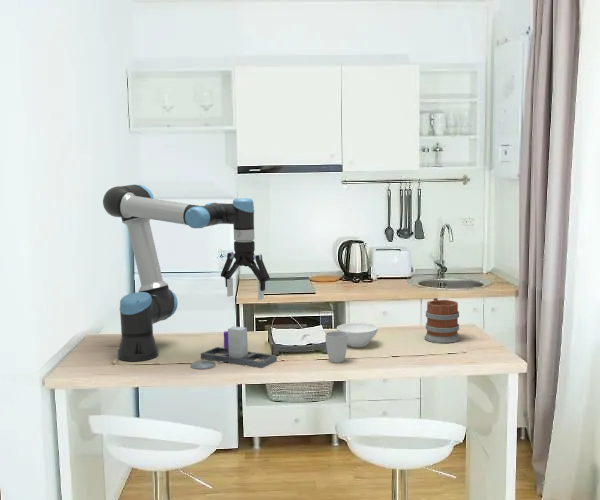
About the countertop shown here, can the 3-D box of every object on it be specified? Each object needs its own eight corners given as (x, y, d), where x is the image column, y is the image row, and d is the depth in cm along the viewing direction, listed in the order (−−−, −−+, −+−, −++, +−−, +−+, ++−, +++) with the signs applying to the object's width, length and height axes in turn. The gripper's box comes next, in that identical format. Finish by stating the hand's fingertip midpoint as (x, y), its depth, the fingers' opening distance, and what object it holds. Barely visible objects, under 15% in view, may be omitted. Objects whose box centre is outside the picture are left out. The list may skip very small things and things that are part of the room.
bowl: (379, 350, 291) (379, 332, 290) (337, 350, 291) (337, 332, 290) (376, 339, 307) (375, 322, 306) (336, 340, 307) (335, 322, 306)
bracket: (241, 349, 296) (241, 332, 295) (224, 349, 297) (223, 332, 296) (246, 341, 308) (245, 325, 307) (229, 341, 309) (229, 325, 308)
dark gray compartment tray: (200, 358, 284) (200, 353, 284) (217, 351, 293) (216, 346, 292) (261, 368, 270) (261, 362, 270) (276, 360, 279) (276, 355, 279)
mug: (428, 344, 298) (429, 306, 296) (418, 332, 317) (418, 296, 315) (464, 343, 298) (464, 305, 296) (451, 331, 317) (451, 295, 315)
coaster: (185, 367, 273) (185, 365, 273) (201, 360, 281) (201, 359, 281) (205, 370, 269) (205, 369, 269) (220, 364, 276) (220, 362, 276)
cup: (350, 358, 280) (350, 332, 279) (344, 364, 273) (344, 337, 271) (329, 356, 283) (329, 330, 281) (322, 363, 275) (322, 335, 274)
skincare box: (248, 359, 282) (247, 327, 280) (242, 362, 278) (241, 330, 277) (234, 357, 285) (233, 326, 283) (228, 360, 281) (227, 328, 279)
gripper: (210, 239, 282) (212, 296, 285) (267, 244, 269) (268, 302, 272) (222, 237, 288) (223, 292, 291) (278, 241, 276) (279, 299, 279)
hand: (245, 297), depth 282 cm, fingers open, 13 cm apart
